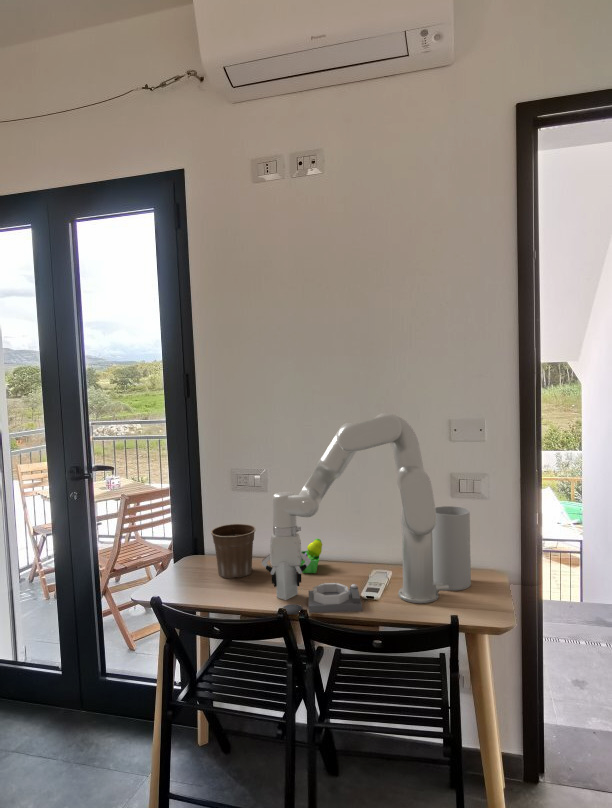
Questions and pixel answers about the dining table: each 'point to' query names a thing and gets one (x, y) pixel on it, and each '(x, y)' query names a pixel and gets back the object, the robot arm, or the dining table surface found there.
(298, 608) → the lens cap
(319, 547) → the fruit basket
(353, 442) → the robot arm
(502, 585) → the dining table surface
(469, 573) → the cylinder vase
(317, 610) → the octagonal ring base
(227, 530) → the plant pot
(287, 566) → the skincare box
